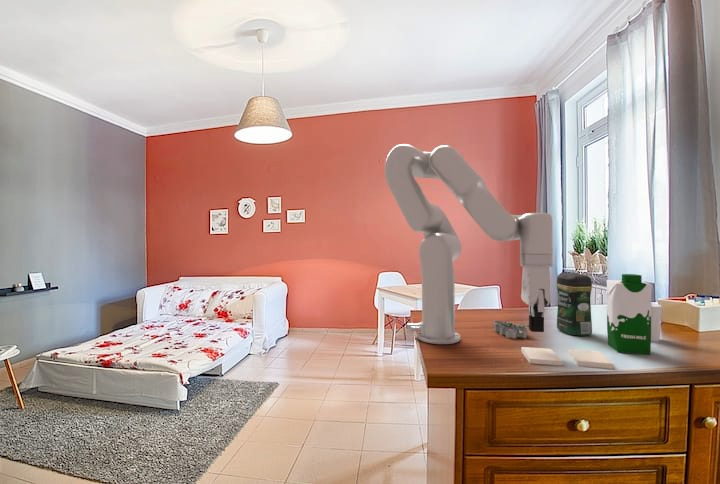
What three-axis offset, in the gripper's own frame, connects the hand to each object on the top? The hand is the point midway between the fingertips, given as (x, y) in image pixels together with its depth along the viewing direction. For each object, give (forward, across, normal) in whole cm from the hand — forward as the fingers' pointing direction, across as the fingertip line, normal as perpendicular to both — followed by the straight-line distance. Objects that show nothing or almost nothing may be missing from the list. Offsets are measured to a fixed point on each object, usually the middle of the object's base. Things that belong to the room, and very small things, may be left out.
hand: (536, 331), depth 90 cm
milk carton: (+6, -8, +24) cm, 26 cm away
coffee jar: (+6, -22, +16) cm, 28 cm away
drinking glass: (+6, -20, +34) cm, 40 cm away
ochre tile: (+5, -1, +11) cm, 13 cm away
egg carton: (+6, -17, -4) cm, 19 cm away
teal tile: (+5, 0, 0) cm, 5 cm away
